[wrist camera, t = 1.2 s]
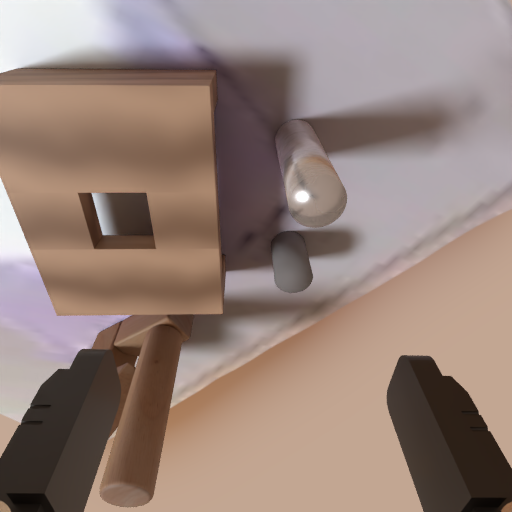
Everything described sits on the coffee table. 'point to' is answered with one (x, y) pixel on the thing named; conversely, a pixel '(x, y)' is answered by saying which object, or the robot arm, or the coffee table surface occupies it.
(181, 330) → the brown angled frame
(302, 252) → the short pin
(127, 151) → the brown block with hole
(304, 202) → the long pin
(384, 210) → the coffee table surface
